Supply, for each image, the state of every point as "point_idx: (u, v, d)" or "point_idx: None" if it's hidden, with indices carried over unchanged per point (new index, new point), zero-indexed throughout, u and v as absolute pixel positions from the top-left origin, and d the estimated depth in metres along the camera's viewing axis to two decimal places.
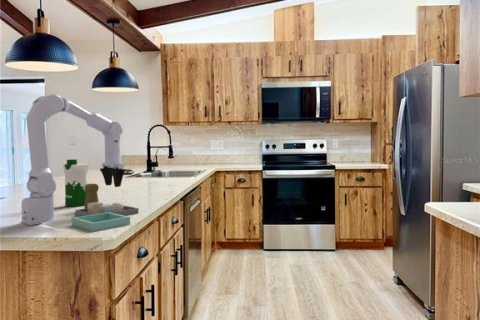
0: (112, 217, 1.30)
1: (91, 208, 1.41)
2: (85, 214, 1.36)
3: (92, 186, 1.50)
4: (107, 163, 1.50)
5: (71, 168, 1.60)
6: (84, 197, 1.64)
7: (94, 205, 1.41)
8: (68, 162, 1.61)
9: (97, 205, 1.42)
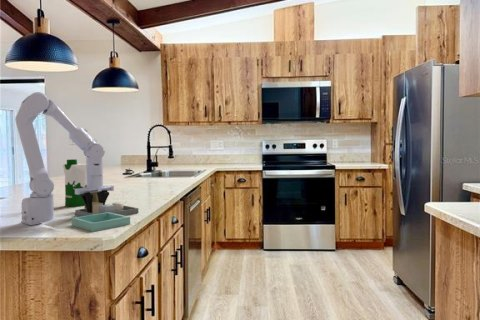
0: (112, 217, 1.30)
1: None
2: (85, 214, 1.36)
3: None
4: None
5: (71, 168, 1.60)
6: None
7: (94, 205, 1.41)
8: (68, 162, 1.61)
9: (97, 205, 1.42)
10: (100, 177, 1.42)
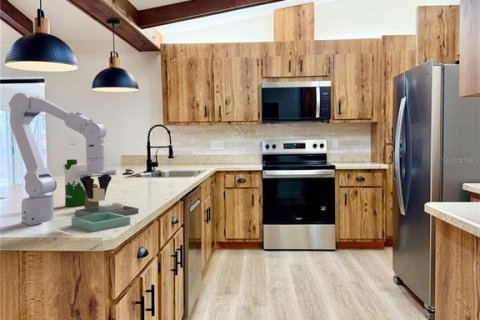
0: (112, 217, 1.30)
1: None
2: (85, 214, 1.36)
3: None
4: None
5: (71, 168, 1.60)
6: (84, 197, 1.64)
7: (95, 191, 1.29)
8: (68, 162, 1.61)
9: (98, 191, 1.30)
10: (101, 160, 1.29)
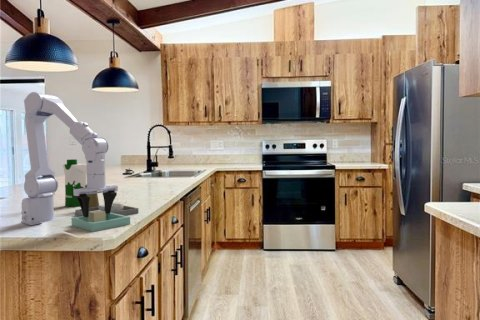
0: (112, 217, 1.30)
1: (92, 218, 1.24)
2: None
3: None
4: None
5: (71, 168, 1.60)
6: None
7: (95, 214, 1.24)
8: (68, 162, 1.61)
9: (99, 214, 1.25)
10: (102, 176, 1.24)
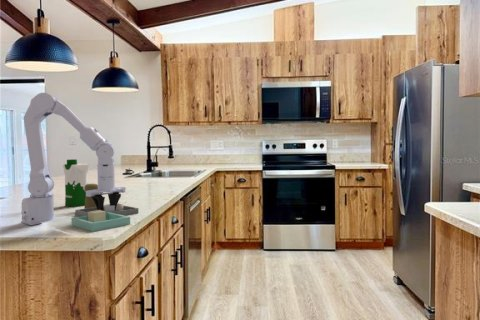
0: (112, 217, 1.30)
1: (92, 218, 1.24)
2: (85, 214, 1.36)
3: (92, 186, 1.50)
4: None
5: (71, 168, 1.60)
6: (84, 197, 1.64)
7: (95, 214, 1.24)
8: (68, 162, 1.61)
9: (99, 214, 1.25)
10: (112, 178, 1.37)
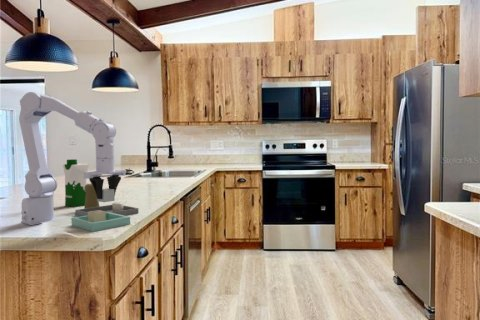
0: (112, 217, 1.30)
1: (92, 218, 1.24)
2: (85, 214, 1.36)
3: (92, 186, 1.50)
4: None
5: (71, 168, 1.60)
6: (84, 197, 1.64)
7: (95, 214, 1.24)
8: (68, 162, 1.61)
9: (99, 214, 1.25)
10: (111, 160, 1.28)
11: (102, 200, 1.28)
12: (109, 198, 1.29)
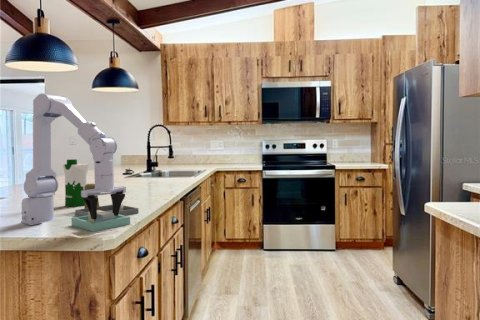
0: None
1: None
2: (85, 214, 1.36)
3: (92, 186, 1.50)
4: None
5: (71, 168, 1.60)
6: None
7: None
8: (68, 162, 1.61)
9: None
10: (111, 177, 1.21)
11: None
12: None
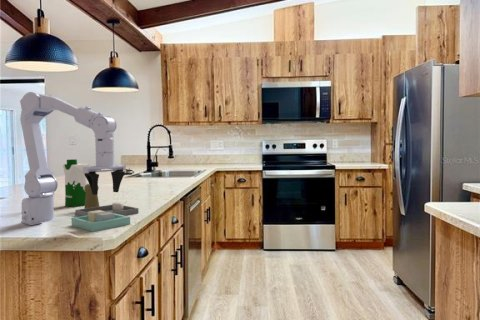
0: None
1: (92, 218, 1.24)
2: (85, 214, 1.36)
3: None
4: None
5: (71, 168, 1.60)
6: (84, 197, 1.64)
7: (95, 214, 1.24)
8: (68, 162, 1.61)
9: None
10: (111, 154, 1.26)
11: None
12: None
